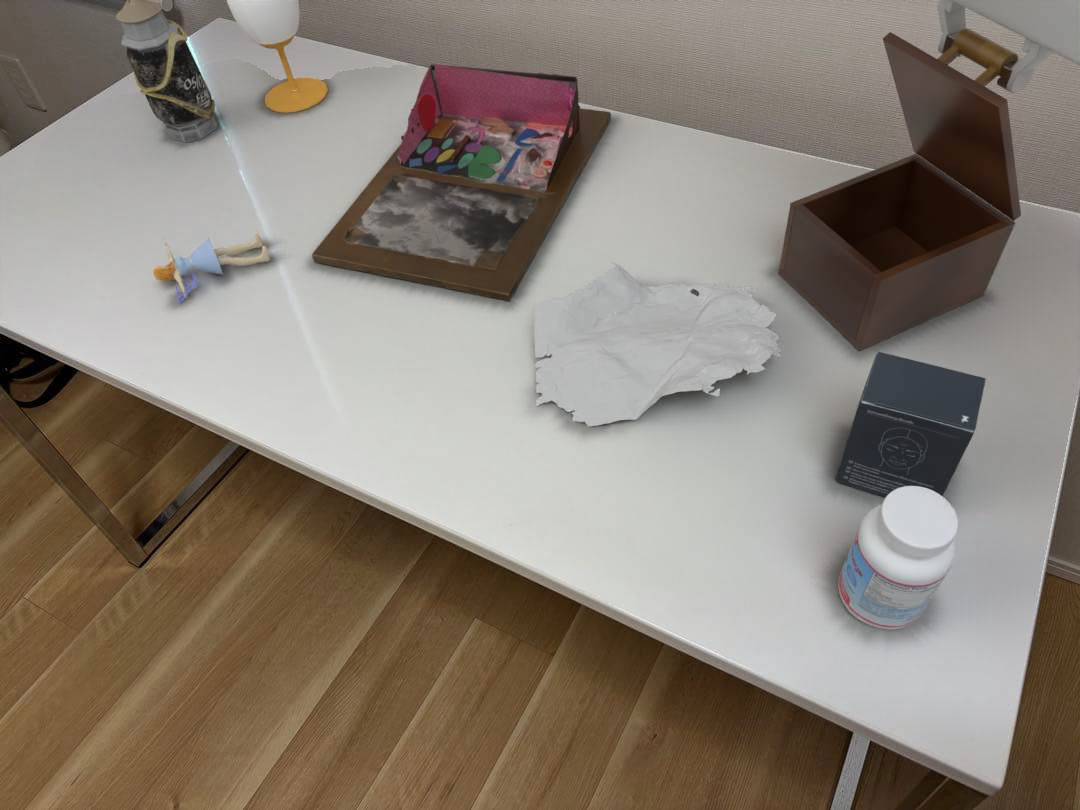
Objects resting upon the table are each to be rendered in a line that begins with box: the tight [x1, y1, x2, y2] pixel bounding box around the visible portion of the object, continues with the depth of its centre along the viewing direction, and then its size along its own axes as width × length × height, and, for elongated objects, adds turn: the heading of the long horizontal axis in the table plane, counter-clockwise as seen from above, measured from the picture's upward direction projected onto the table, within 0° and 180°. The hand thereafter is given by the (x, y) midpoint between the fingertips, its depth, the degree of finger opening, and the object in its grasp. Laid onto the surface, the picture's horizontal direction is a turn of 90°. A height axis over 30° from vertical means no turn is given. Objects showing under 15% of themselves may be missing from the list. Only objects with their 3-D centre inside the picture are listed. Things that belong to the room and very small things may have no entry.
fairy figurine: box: [153, 230, 271, 304], centre depth 90 cm, size 12×5×12 cm
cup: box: [226, 0, 329, 114], centre depth 109 cm, size 9×9×16 cm
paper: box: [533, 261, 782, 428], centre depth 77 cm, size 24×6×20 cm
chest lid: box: [882, 28, 1022, 222], centre depth 69 cm, size 16×13×5 cm
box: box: [835, 351, 987, 498], centre depth 63 cm, size 8×6×11 cm
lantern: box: [115, 0, 219, 143], centre depth 103 cm, size 9×8×25 cm
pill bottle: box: [837, 486, 959, 630], centre depth 56 cm, size 6×6×11 cm
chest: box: [777, 153, 1016, 352], centre depth 77 cm, size 15×13×9 cm
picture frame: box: [311, 63, 612, 301], centre depth 94 cm, size 24×35×8 cm
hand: (979, 70), depth 65 cm, fingers closed on chest lid, 5 cm apart
